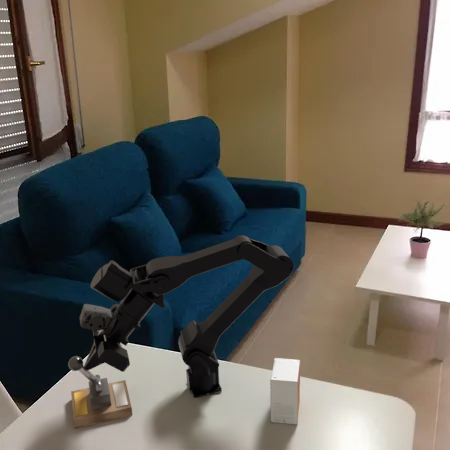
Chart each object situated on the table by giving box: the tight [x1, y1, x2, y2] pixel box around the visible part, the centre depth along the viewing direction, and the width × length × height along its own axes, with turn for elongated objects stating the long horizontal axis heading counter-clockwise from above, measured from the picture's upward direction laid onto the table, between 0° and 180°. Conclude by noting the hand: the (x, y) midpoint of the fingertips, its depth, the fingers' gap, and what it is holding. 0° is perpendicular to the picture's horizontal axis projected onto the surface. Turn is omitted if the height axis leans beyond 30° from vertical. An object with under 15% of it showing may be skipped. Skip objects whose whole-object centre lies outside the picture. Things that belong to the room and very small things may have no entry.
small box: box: [269, 357, 301, 425], centre depth 112 cm, size 8×6×10 cm
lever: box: [67, 355, 102, 393], centre depth 114 cm, size 3×5×9 cm
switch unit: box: [70, 377, 133, 429], centre depth 117 cm, size 12×10×5 cm
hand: (86, 368), depth 114 cm, fingers closed, pressing on lever
